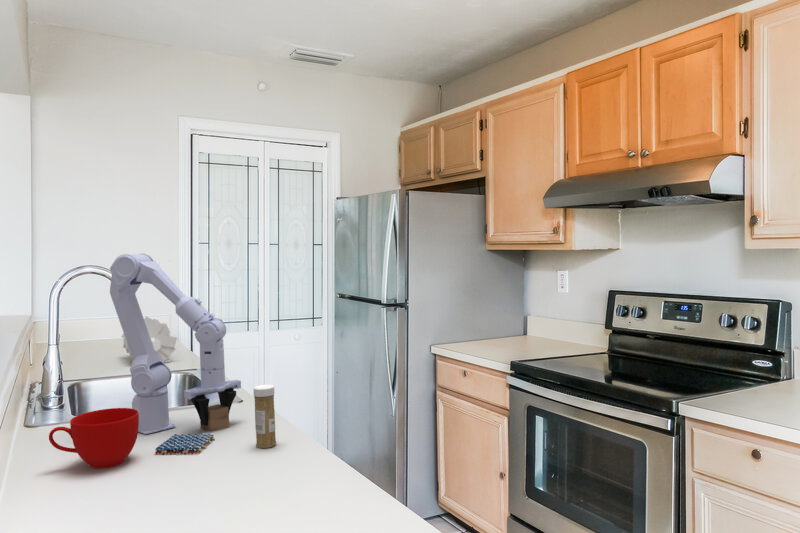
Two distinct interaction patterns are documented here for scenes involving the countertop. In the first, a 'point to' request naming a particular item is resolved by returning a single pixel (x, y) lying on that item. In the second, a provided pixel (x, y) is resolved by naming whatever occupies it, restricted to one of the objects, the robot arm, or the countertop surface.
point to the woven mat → (184, 444)
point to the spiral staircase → (157, 338)
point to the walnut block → (217, 418)
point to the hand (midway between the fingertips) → (214, 422)
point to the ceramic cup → (102, 436)
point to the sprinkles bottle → (264, 416)
